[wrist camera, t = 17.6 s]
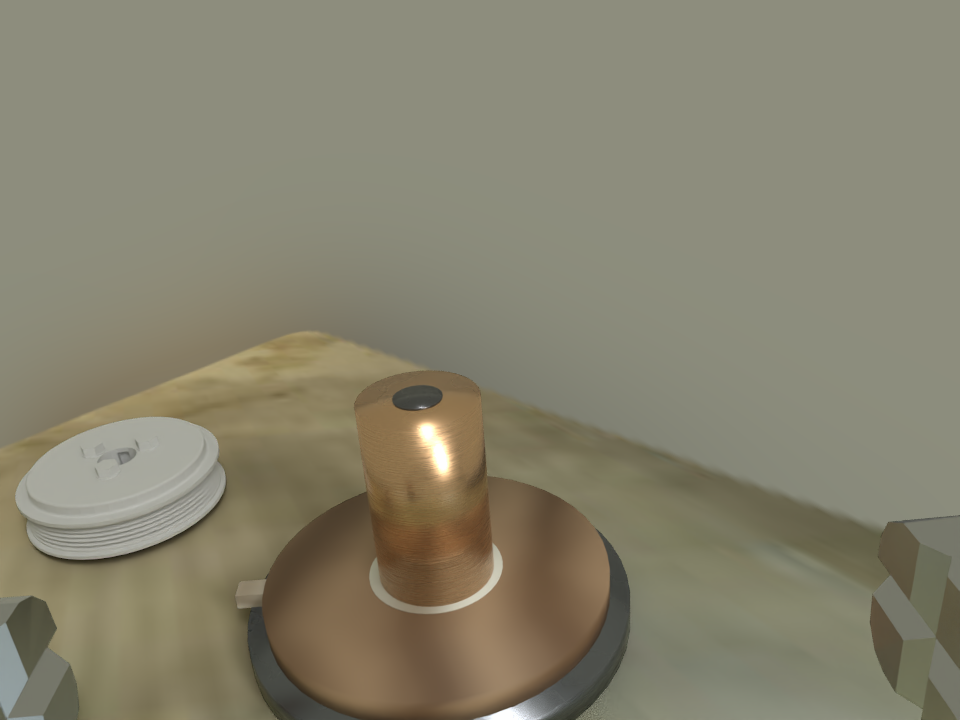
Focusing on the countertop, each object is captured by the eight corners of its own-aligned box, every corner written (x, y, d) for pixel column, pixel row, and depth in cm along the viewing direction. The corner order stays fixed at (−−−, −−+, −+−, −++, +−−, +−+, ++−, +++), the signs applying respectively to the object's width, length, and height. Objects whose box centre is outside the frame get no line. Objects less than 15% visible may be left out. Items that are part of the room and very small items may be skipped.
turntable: (583, 482, 54) (582, 462, 54) (642, 707, 38) (642, 682, 37) (272, 509, 54) (268, 489, 54) (197, 745, 38) (190, 721, 37)
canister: (492, 529, 48) (479, 364, 44) (496, 602, 43) (481, 423, 38) (384, 536, 48) (361, 373, 44) (374, 610, 43) (346, 432, 38)
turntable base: (597, 493, 56) (596, 473, 55) (670, 750, 38) (670, 725, 37) (287, 520, 56) (283, 500, 55) (211, 790, 38) (203, 766, 37)
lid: (66, 474, 64) (47, 415, 62) (240, 452, 65) (226, 393, 63) (1, 585, 53) (-26, 516, 50) (212, 556, 53) (195, 488, 51)
